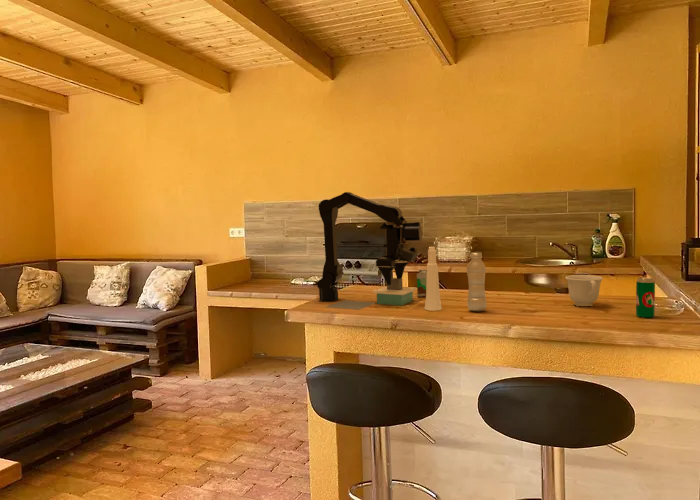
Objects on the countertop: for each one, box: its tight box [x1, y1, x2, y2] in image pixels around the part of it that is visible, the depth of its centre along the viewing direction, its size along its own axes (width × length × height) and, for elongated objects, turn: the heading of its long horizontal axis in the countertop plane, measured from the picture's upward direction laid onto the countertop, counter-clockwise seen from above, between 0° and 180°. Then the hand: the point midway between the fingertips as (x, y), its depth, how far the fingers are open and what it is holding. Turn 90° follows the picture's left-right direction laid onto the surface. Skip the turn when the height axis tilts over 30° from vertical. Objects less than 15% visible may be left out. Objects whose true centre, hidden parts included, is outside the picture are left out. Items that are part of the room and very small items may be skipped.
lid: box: [372, 277, 417, 295], centre depth 196 cm, size 12×12×5 cm
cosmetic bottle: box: [424, 246, 443, 312], centre depth 185 cm, size 6×6×22 cm
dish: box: [376, 291, 414, 306], centre depth 197 cm, size 10×10×5 cm
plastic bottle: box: [466, 251, 488, 312], centre depth 180 cm, size 6×7×20 cm
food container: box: [416, 269, 427, 299], centre depth 213 cm, size 12×6×10 cm, turn 168°
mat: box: [326, 300, 377, 311], centre depth 194 cm, size 14×14×1 cm
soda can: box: [635, 277, 656, 319], centre depth 163 cm, size 5×5×12 cm
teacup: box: [564, 274, 604, 307], centre depth 182 cm, size 12×15×10 cm
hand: (394, 283), depth 196 cm, fingers open, 9 cm apart
